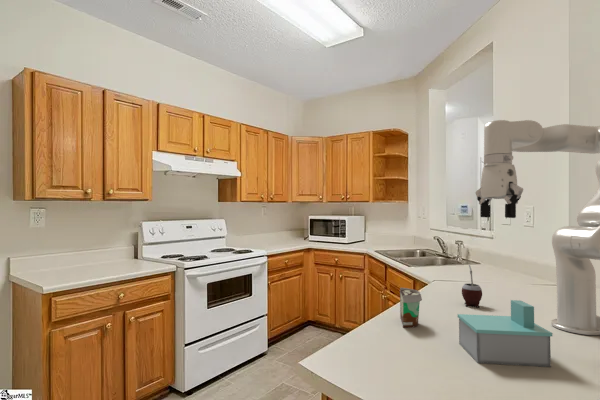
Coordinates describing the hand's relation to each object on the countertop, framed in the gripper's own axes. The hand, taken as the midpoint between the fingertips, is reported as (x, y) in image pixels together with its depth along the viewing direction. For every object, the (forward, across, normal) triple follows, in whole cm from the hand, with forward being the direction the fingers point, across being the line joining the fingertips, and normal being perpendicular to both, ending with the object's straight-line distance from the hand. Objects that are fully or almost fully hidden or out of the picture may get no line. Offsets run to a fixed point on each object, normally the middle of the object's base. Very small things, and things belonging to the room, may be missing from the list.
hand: (497, 217), depth 104 cm
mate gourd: (+34, +27, -13) cm, 45 cm away
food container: (+35, +11, +22) cm, 42 cm away
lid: (+28, -15, +13) cm, 35 cm away
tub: (+34, -15, +12) cm, 39 cm away
